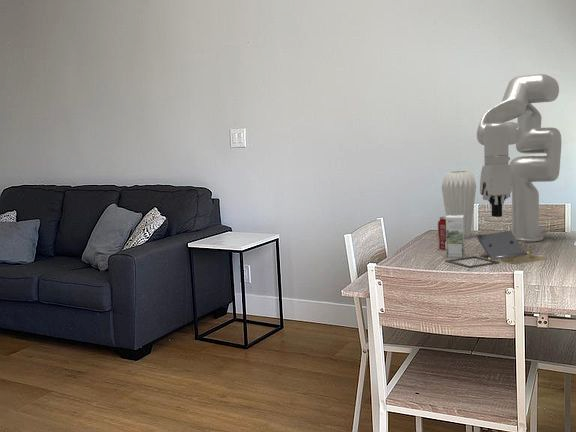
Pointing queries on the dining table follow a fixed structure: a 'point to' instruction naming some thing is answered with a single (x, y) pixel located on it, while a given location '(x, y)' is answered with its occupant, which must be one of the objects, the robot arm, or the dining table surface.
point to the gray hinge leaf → (500, 245)
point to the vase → (460, 196)
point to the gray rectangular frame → (472, 265)
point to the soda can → (442, 233)
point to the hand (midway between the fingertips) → (496, 216)
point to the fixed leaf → (520, 259)
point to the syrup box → (455, 235)
